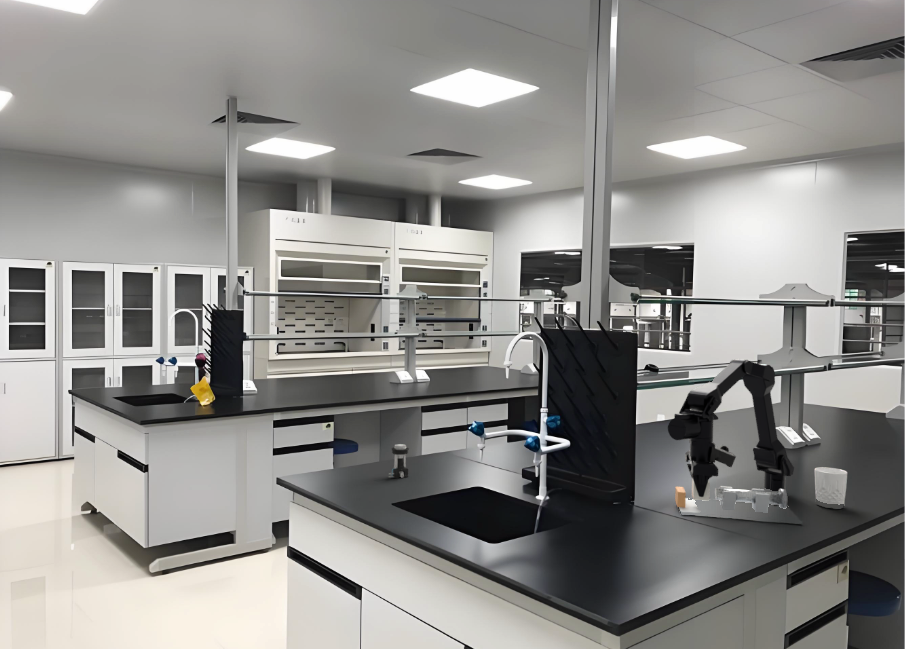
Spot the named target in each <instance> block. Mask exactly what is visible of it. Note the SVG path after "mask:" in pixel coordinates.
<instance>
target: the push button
mask: <svg viewBox="0 0 905 649" xmlns="http://www.w3.org/2000/svg"><path fill="white" fill-rule="evenodd" d="M409 449H410V448H409V447H407V444H403V443H399V444H398V443H397V444H394V447H392V448H391V451H392V452H391V453H392V454H393V455H394V459H393V460H394V462H393V465H394V466H393V468H392V469H391V472H390V473H389V472H388V475H390V476H388V478H393V479H401V478H408V477H409V469H408V468H407V465H406V458H407V457H406V455H408V454H409ZM399 477H401V478H399Z"/></svg>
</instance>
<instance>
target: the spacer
mask: <svg viewBox="0 0 905 649" xmlns="http://www.w3.org/2000/svg"><path fill="white" fill-rule="evenodd" d="M710 483H711V482H710V479H709V480H708V483H707V486H706V490H705V493H704V496H703V497H699V495H698V492H697V489H696V486H695V483H694V481H693V478H692V477H691V498H693V500H702V501H709V500H710V491H711V489H710V488H711V487H710V486H711V484H710Z"/></svg>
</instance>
